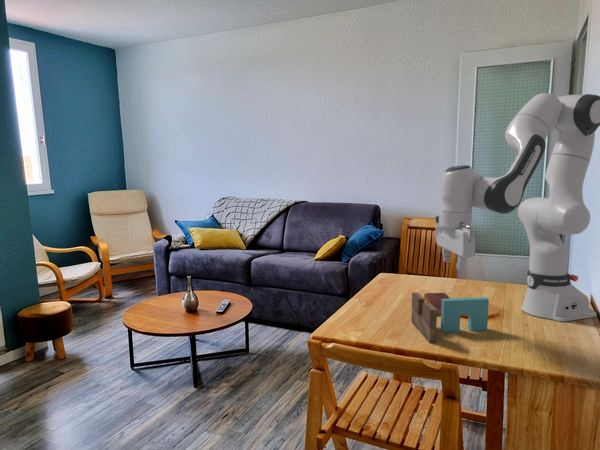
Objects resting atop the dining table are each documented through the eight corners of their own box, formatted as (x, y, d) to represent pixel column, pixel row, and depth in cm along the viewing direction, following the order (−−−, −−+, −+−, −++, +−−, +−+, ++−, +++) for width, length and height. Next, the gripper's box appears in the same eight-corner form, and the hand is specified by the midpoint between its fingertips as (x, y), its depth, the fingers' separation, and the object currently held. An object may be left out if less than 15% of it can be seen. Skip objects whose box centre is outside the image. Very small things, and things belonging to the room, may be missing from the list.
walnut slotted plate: (417, 321, 140) (418, 292, 139) (435, 342, 125) (436, 309, 123) (411, 322, 140) (412, 292, 139) (429, 342, 125) (430, 309, 123)
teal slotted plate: (484, 327, 135) (485, 297, 133) (487, 330, 133) (488, 299, 131) (440, 329, 134) (441, 298, 132) (443, 332, 132) (444, 301, 130)
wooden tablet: (461, 319, 143) (461, 315, 143) (430, 318, 145) (430, 313, 145) (448, 294, 169) (448, 290, 169) (422, 293, 171) (422, 289, 171)
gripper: (482, 225, 118) (479, 274, 120) (451, 215, 138) (449, 257, 140) (460, 226, 117) (457, 275, 119) (432, 216, 137) (430, 258, 140)
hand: (453, 265), depth 130 cm, fingers open, 8 cm apart
